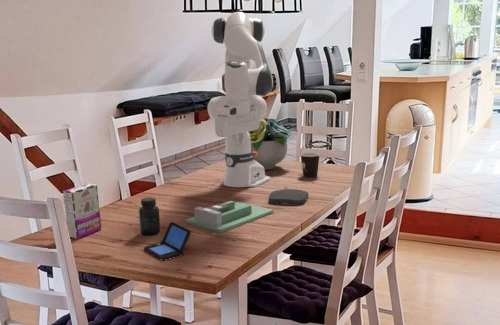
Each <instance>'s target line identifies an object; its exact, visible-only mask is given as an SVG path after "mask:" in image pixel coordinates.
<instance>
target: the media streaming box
mask: <svg viewBox="0 0 500 325" xmlns="http://www.w3.org/2000/svg"><path fill="white" fill-rule="evenodd" d="M308 200H309V192H308V191H305V190H301V189H290V188H286V189H278V190H277V189H276V190H273V191H271V192H270V193H269V195H268V203H270V204H272V205H281V206H282V205H283V206H300V205H304V204H305V203H307V201H308Z"/></svg>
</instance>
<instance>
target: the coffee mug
mask: <svg viewBox="0 0 500 325" xmlns="http://www.w3.org/2000/svg"><path fill="white" fill-rule="evenodd" d="M300 160H301V168H302V176H303V177H304V178H317V177H318V173H319V172H318V171H319V163H320V153H318V152H317V153H316V152H304V153H301V154H300Z"/></svg>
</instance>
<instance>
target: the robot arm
mask: <svg viewBox="0 0 500 325" xmlns="http://www.w3.org/2000/svg"><path fill="white" fill-rule="evenodd" d="M211 36H212V38H213V40H214V41H215V43H217V44H224V46H225V48H226V50H225V55H224V57H225V59H224V73H223V75H221V90H222V91H223V92H224V93H225V95H221V96H214V97H212V98H211V99H210V100H209V102H208V104H207V113H208V116H209V117H210V119H211V120H213V121H214V131H215V135H216V137H219V138H224V142H225V152H224V161H225V164H224V178H223V180H222V181H223V186H226V187H229V188H246V187H247V188H249V187H250V188H252V187H253V188H254V187H255V188H256V187H258V186H260V185H261V184H264V183H266V182H268V181H271V177H270V176H268V175H266V171H265V170H264V167H263V166H262V165H261V164H259V163H258V162H257V161H255V160H254V157H253V156H257V155H258V153H257V152H254V151H253V152H251V137H250V134H249V133H248V132H249V131H253V130H257V129H259V127H260V122H259V120H262V119H264V117H265V116H266V114H267V111H268V106H267V105H268V104H267V102H266V100H265V99H264V98H263V97H266V96H267V95H268V94H270V93H271V91H273V88H274V78H273V75H272V73H271V70H270V68H269V65H268V61H267V58H266V54H265V51H264V48H263V46H262V44H261V42H262V41H263V38H264V36H265V26H264V22H263V21H262V19H260V18H256V17H253V18H252V17H249V16H248V15H247V14H245V12H242V11H236V12H232V13H230V14H229V16H228V17H226V18H224V17H220V18H216V19H214V21H213V23H212V25H211ZM251 61H253V62H254V64H255V66H256V68H251Z"/></svg>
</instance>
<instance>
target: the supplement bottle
mask: <svg viewBox="0 0 500 325" xmlns="http://www.w3.org/2000/svg"><path fill="white" fill-rule="evenodd" d="M156 204H157V202H156V198H155V197H143V198H141V199H140V205H141V206H140V207H139V209H138V221H139V233H140V235H141V236H143V237H154V236H157V235H160V233H161V218H160V209H159V206H157V205H156Z"/></svg>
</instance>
